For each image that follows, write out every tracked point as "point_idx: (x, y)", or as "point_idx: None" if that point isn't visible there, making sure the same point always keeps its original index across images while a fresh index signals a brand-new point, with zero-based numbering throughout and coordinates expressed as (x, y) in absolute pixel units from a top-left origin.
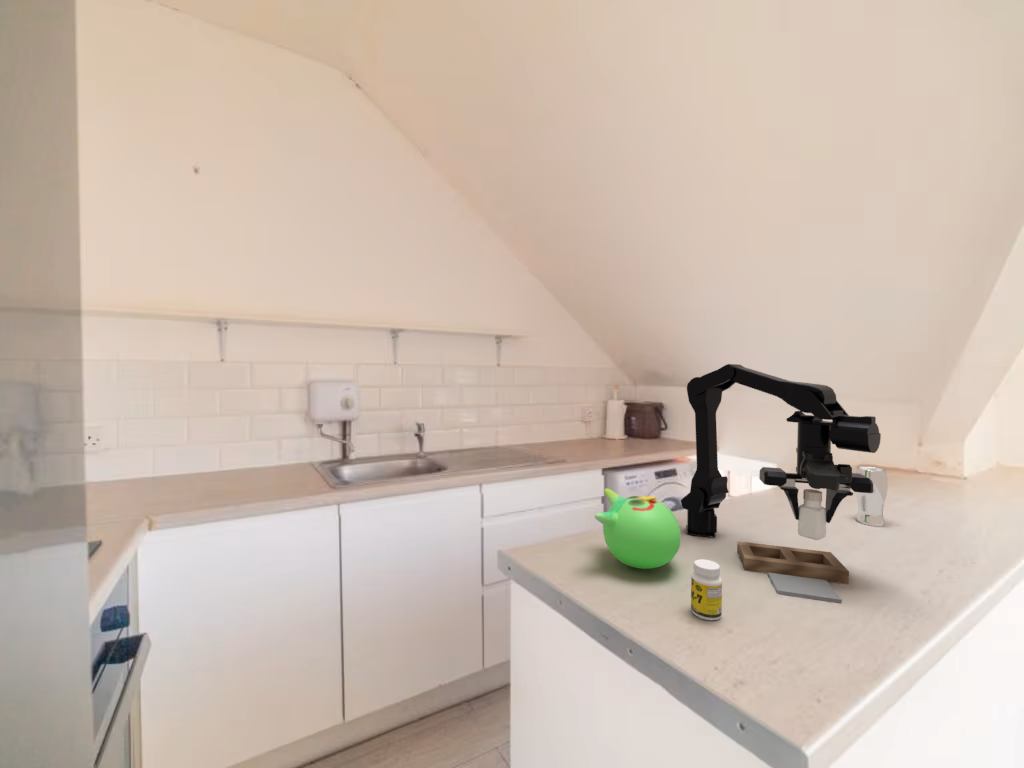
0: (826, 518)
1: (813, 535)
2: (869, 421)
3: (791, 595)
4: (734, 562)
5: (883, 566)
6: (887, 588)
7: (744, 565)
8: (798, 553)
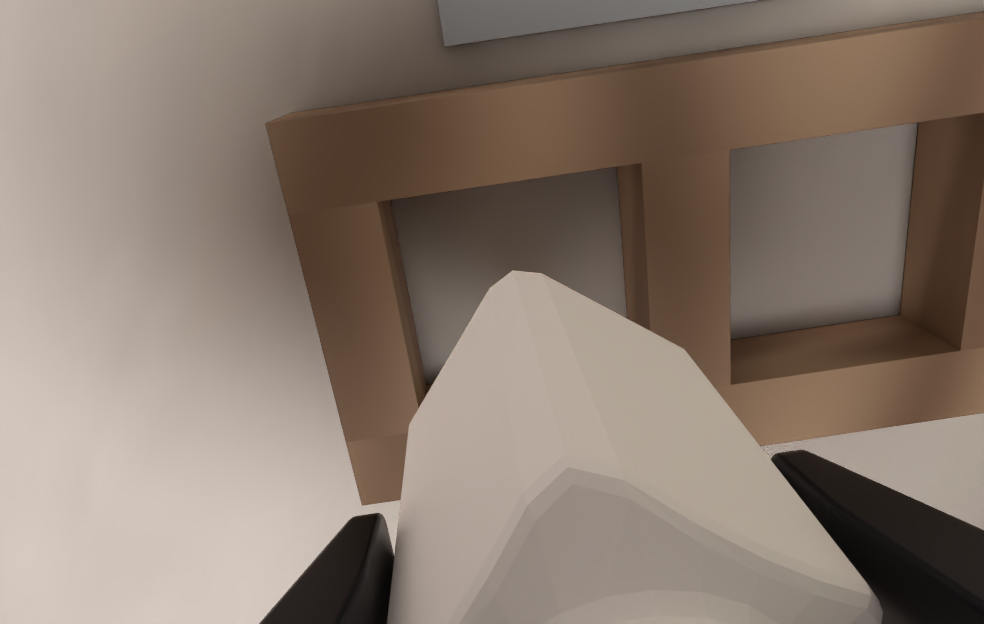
0: (387, 587)
1: (561, 288)
2: None
3: None
4: None
5: (67, 566)
6: (47, 178)
7: None
8: None
